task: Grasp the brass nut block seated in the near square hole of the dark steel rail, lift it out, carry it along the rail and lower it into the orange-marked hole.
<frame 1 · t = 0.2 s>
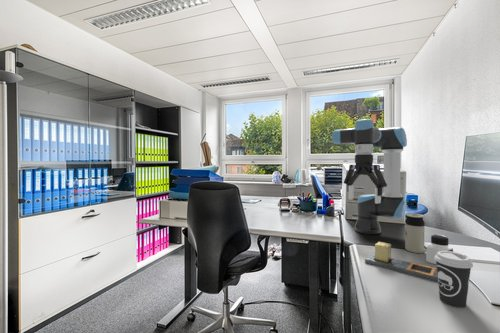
hand: (363, 201, 111), 27 cm above the table, fingers open, 13 cm apart
travel mug: (414, 250, 123), on the table
rail: (401, 267, 103), on the table
nut block: (383, 263, 108), resting in rail
coffee cup: (452, 302, 79), on the table
medicine bottle: (439, 263, 108), on the table
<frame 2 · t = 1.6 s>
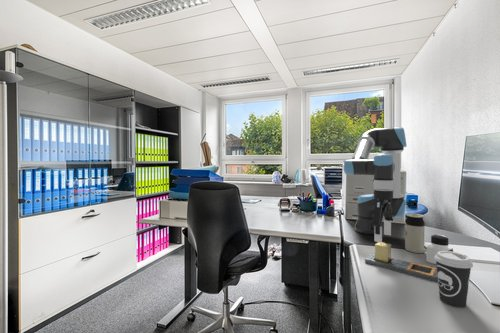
hand: (383, 238, 108), 11 cm above the table, fingers open, 13 cm apart
nothing on the table moved.
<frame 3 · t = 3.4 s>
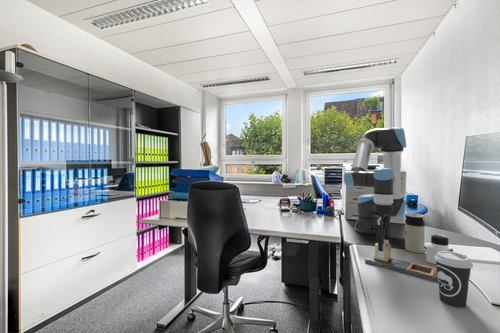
hand: (383, 255, 108), 3 cm above the table, fingers closed on nut block, 5 cm apart
nut block: (383, 263, 108), resting in rail, touching gripper
everything else where it was.
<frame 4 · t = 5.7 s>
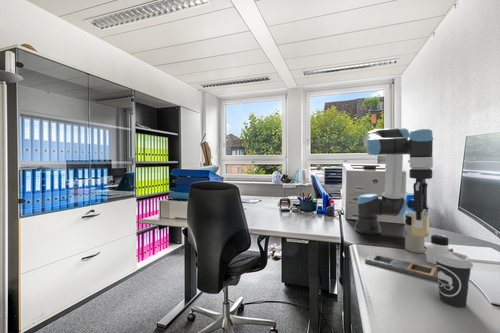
hand: (420, 226, 98), 19 cm above the table, fingers closed on nut block, 5 cm apart
nut block: (420, 234, 98), point 16 cm above the table, touching gripper
everything else where it was.
when the fingers open (4 cm above the table, at t = 8.0 s): nut block stays where it is, resting in rail.
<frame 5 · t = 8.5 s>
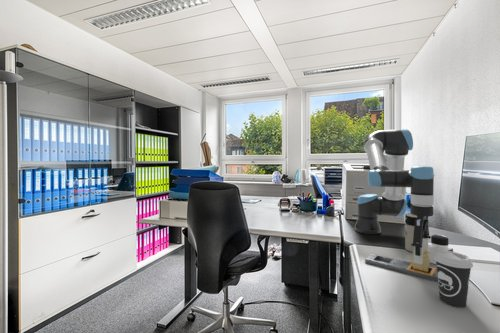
hand: (421, 258, 98), 6 cm above the table, fingers open, 12 cm apart
nut block: (421, 273, 99), resting in rail
everything else where it was.
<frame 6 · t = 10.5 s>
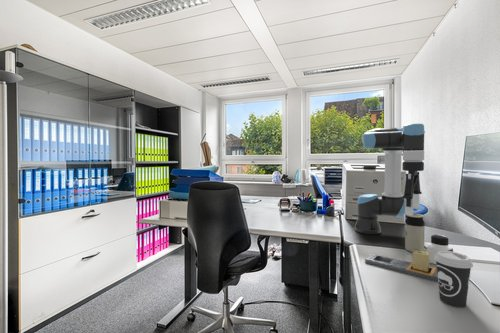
hand: (412, 211, 104), 24 cm above the table, fingers open, 13 cm apart
nothing on the table moved.
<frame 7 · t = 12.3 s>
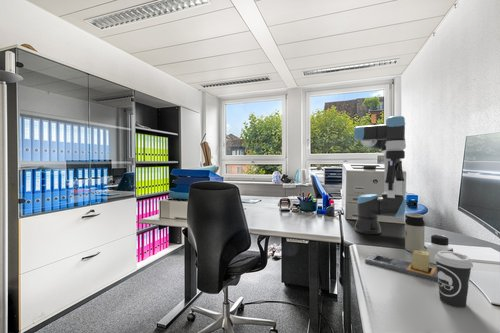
hand: (395, 196, 114), 29 cm above the table, fingers open, 13 cm apart
nothing on the table moved.
at the end: nut block 0.1 cm from the target spot on the rail, point 0.0 cm above the rail's base; nut block tilted 0°; the gripper is holding nothing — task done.
